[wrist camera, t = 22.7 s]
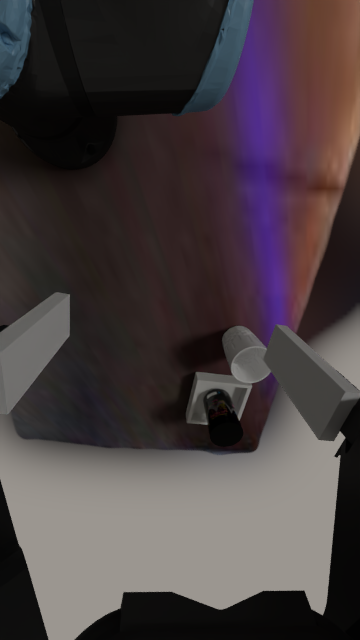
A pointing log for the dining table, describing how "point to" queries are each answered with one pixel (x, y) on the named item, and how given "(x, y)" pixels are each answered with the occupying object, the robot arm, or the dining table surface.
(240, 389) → the tray
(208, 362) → the dining table surface
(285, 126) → the dining table surface
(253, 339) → the white cup
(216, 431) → the supplement container
